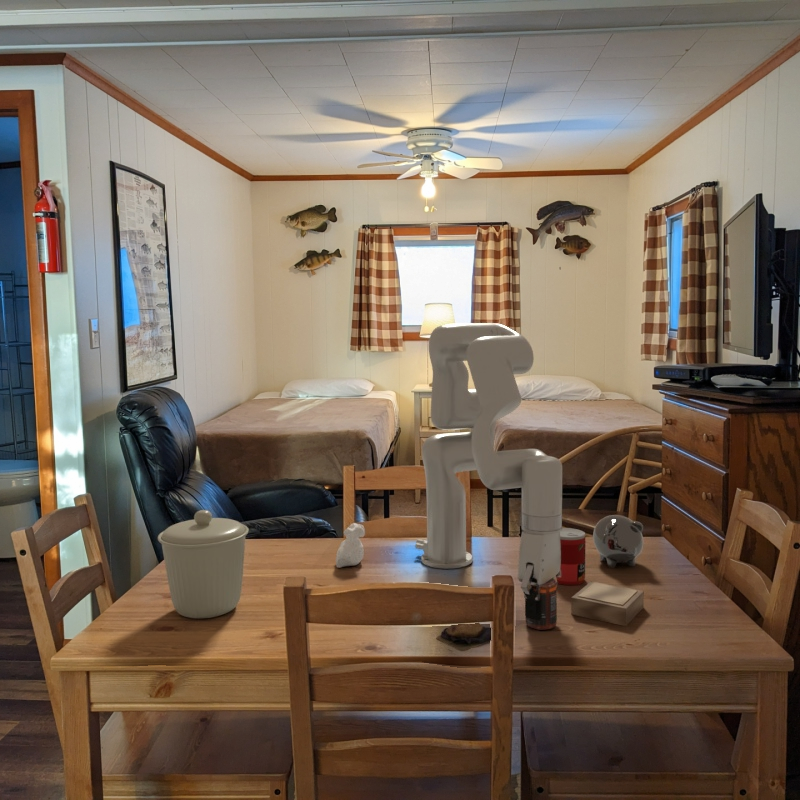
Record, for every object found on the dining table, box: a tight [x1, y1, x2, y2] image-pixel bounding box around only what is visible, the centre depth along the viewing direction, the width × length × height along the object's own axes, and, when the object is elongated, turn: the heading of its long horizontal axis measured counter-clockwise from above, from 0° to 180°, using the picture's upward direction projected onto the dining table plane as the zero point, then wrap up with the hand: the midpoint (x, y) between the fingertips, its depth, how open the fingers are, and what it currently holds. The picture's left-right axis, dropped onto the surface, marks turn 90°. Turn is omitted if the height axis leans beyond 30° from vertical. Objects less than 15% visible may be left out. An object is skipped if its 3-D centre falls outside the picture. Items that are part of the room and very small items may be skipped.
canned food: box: [557, 527, 586, 586], centre depth 168 cm, size 8×8×11 cm
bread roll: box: [436, 622, 492, 652], centre depth 139 cm, size 11×8×4 cm
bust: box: [335, 522, 366, 569], centre depth 182 cm, size 12×8×11 cm
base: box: [570, 580, 645, 627], centre depth 150 cm, size 11×11×4 cm
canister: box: [157, 509, 250, 619], centre depth 154 cm, size 18×18×21 cm
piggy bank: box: [592, 514, 644, 568], centre depth 179 cm, size 11×15×12 cm
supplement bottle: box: [525, 578, 558, 631], centre depth 143 cm, size 6×6×11 cm
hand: (540, 611), depth 143 cm, fingers closed on supplement bottle, 6 cm apart
